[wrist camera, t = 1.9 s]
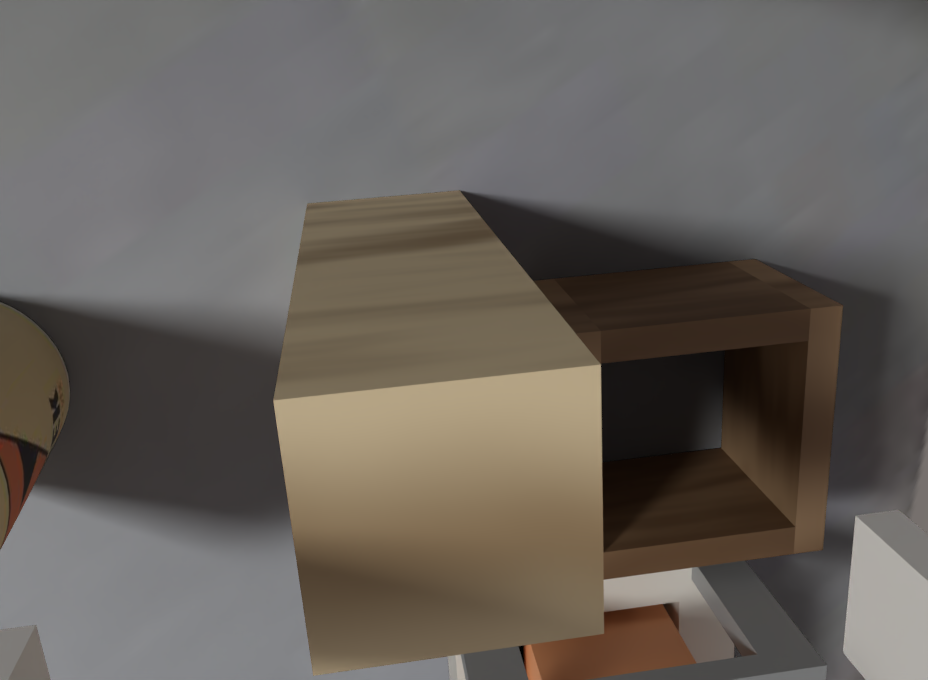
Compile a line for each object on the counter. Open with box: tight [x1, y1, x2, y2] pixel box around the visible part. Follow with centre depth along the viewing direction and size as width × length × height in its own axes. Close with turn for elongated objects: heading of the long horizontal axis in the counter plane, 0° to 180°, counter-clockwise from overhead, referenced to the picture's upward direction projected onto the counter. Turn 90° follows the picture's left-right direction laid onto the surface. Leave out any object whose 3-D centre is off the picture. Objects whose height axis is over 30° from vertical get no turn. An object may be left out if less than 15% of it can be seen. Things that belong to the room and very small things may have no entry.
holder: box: [533, 259, 843, 580], centre depth 36 cm, size 10×10×7 cm
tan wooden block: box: [273, 190, 604, 676], centre depth 26 cm, size 6×6×20 cm
